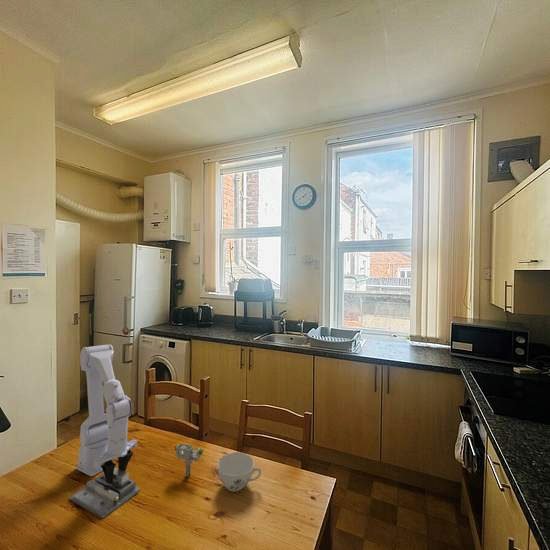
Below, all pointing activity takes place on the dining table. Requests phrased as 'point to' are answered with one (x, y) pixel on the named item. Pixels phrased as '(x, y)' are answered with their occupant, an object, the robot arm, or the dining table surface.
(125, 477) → the brushed steel bar
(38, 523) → the dining table surface
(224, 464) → the teacup
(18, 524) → the dining table surface
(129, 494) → the fixed leaf
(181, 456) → the mechanical component
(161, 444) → the dining table surface
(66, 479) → the dining table surface
